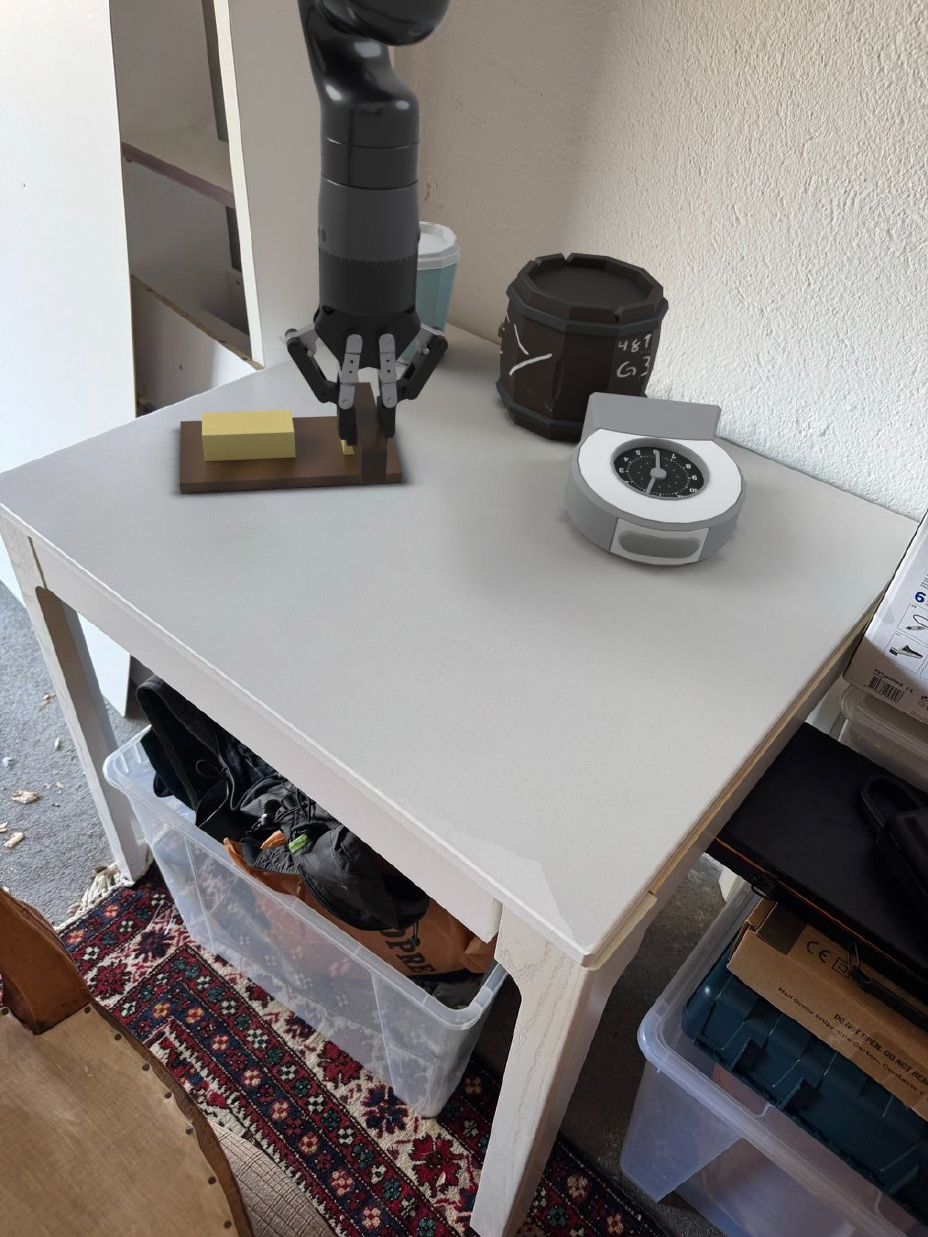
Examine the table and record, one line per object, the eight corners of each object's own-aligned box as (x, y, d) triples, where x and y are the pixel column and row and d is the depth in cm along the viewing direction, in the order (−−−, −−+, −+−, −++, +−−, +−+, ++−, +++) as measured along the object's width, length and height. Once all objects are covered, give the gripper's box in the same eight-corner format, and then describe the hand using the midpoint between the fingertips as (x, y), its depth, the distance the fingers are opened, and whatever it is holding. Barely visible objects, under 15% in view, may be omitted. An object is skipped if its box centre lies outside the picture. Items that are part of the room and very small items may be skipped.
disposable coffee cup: (432, 381, 113) (439, 257, 103) (354, 359, 115) (354, 236, 105) (466, 348, 120) (477, 230, 110) (392, 328, 123) (396, 211, 113)
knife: (386, 482, 79) (388, 449, 76) (360, 483, 78) (361, 450, 76) (351, 343, 93) (352, 312, 90) (329, 344, 92) (329, 312, 90)
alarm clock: (738, 403, 96) (766, 525, 83) (716, 470, 102) (738, 592, 89) (573, 385, 96) (575, 504, 83) (561, 453, 102) (560, 573, 89)
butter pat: (344, 455, 96) (344, 429, 94) (339, 432, 100) (338, 407, 98) (363, 454, 97) (363, 428, 95) (357, 432, 100) (357, 407, 98)
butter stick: (205, 461, 93) (202, 435, 91) (204, 438, 97) (201, 412, 95) (295, 457, 95) (294, 431, 93) (292, 434, 98) (291, 409, 96)
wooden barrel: (517, 360, 119) (533, 235, 108) (654, 394, 115) (684, 267, 104) (468, 423, 106) (481, 288, 95) (620, 463, 102) (651, 327, 91)
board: (180, 493, 91) (178, 483, 90) (181, 430, 100) (180, 420, 99) (401, 482, 96) (402, 472, 95) (384, 423, 104) (384, 414, 103)
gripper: (448, 222, 74) (434, 416, 85) (271, 220, 71) (281, 422, 82) (469, 257, 68) (451, 460, 80) (278, 256, 65) (288, 467, 76)
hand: (365, 440), depth 81 cm, fingers closed on knife, 2 cm apart
